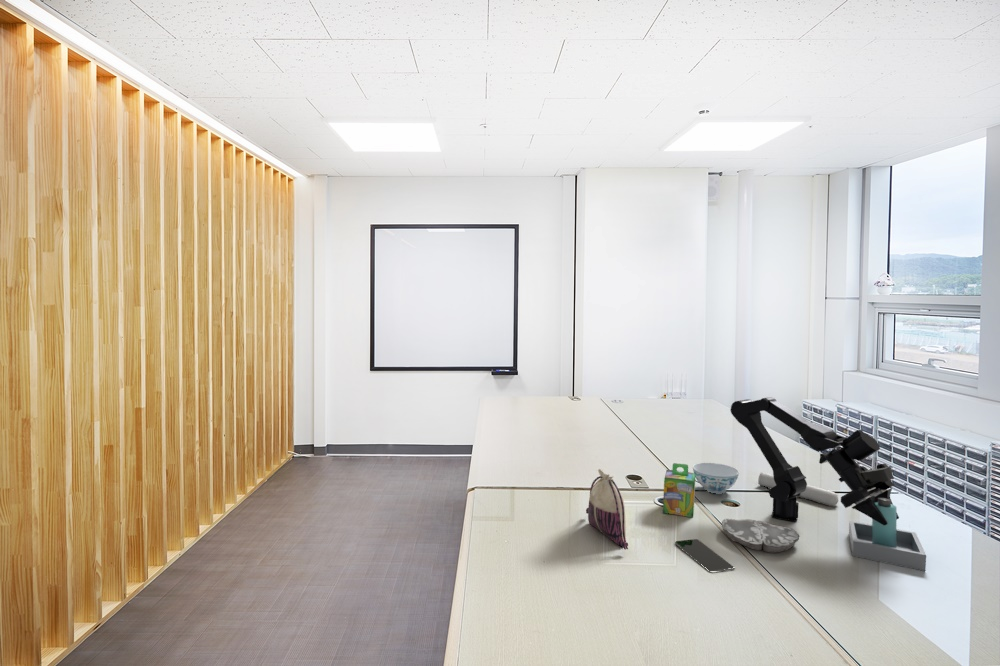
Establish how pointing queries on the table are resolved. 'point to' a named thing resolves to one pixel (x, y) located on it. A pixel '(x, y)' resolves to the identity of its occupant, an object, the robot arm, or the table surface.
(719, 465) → the chinaware
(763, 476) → the tube
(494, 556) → the table surface
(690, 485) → the chalk box
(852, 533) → the tray
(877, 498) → the robot arm
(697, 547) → the smartphone
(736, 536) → the brain slice
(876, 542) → the capped bottle
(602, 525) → the pouch
